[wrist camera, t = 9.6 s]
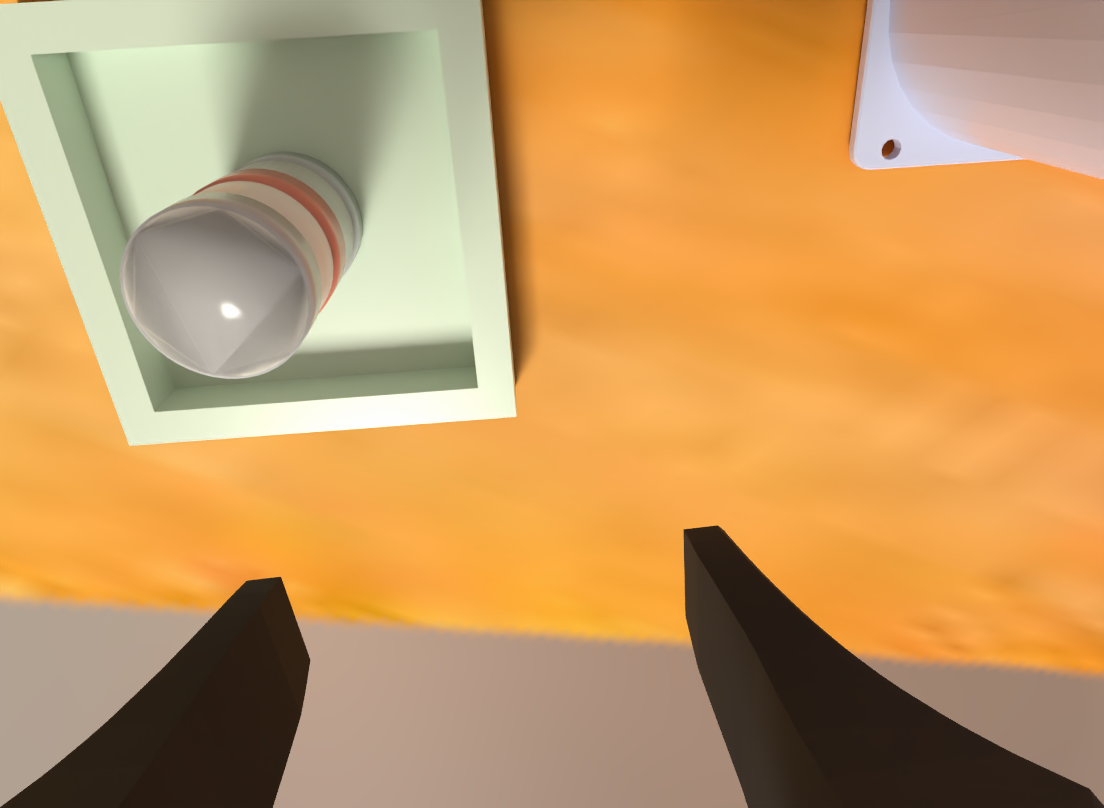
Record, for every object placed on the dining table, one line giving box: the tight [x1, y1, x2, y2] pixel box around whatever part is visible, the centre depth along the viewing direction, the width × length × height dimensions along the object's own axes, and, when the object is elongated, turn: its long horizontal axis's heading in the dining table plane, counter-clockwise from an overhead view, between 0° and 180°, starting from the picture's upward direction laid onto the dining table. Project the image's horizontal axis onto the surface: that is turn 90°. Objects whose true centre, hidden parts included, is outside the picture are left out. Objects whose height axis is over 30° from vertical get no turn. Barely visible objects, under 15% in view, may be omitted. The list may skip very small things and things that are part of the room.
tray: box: [0, 0, 516, 446], centre depth 19 cm, size 11×11×2 cm
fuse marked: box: [120, 152, 363, 379], centre depth 17 cm, size 4×4×6 cm
